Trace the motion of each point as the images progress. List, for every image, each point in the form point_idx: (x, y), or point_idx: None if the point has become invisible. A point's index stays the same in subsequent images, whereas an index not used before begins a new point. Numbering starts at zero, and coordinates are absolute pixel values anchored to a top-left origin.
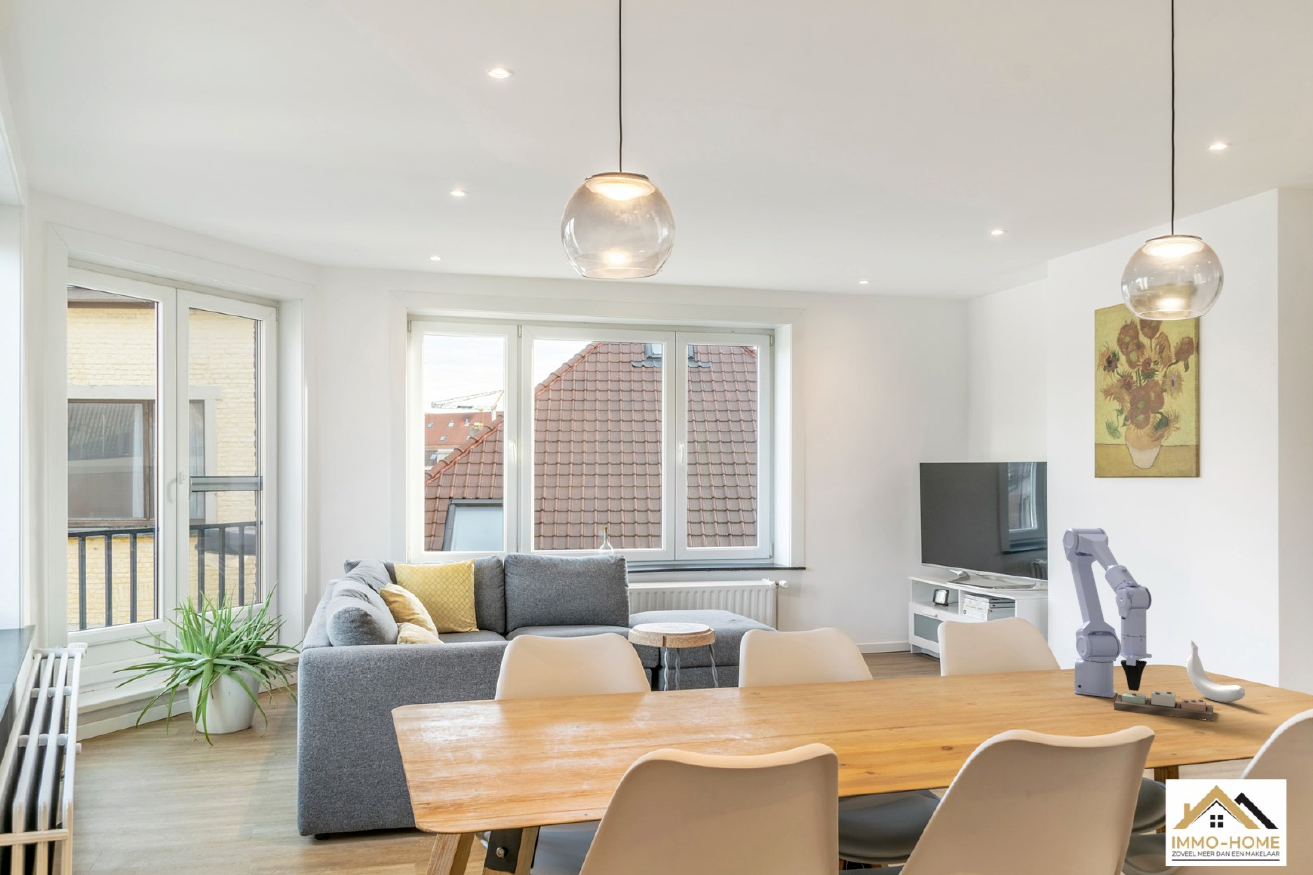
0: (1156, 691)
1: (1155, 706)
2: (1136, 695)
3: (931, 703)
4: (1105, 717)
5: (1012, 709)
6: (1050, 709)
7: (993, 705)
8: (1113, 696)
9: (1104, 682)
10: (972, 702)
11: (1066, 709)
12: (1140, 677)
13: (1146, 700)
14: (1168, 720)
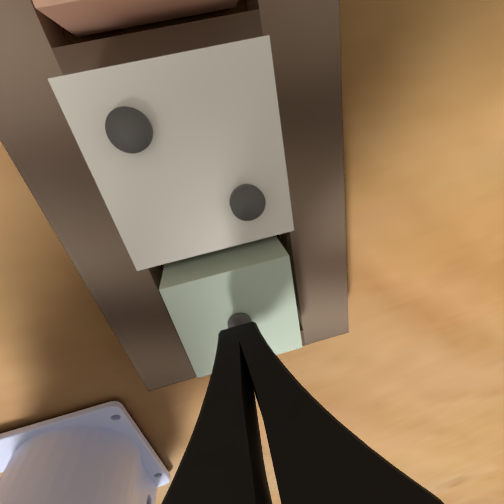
0: (140, 242)
1: (309, 172)
2: (238, 311)
3: (484, 497)
4: (488, 278)
5: (480, 433)
6: (442, 401)
7: (455, 463)
8: (113, 404)
9: (102, 494)
10: (445, 486)
11: (422, 384)
12: (305, 390)
13: (150, 271)
14: (442, 49)
